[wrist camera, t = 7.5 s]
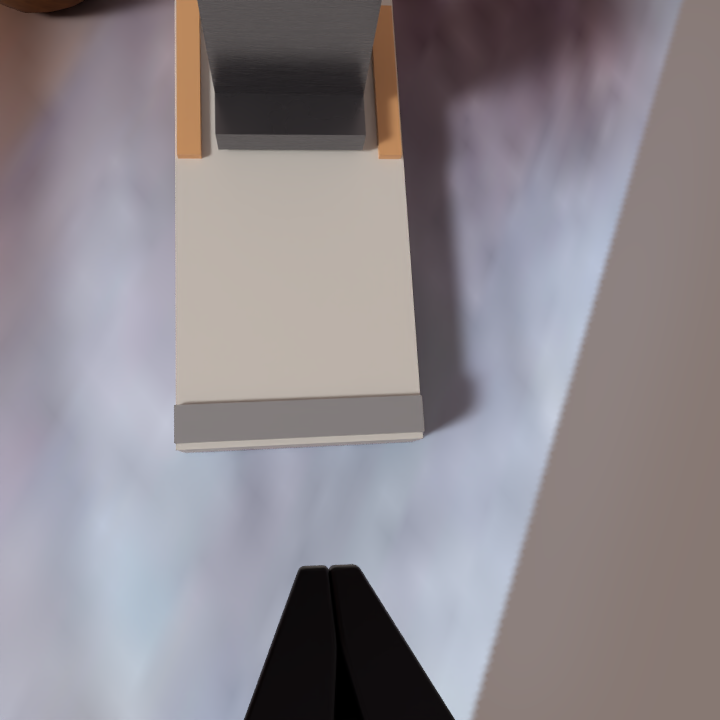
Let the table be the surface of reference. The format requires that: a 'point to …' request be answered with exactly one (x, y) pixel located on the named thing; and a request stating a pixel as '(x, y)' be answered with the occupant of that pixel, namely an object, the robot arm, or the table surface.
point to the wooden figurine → (39, 5)
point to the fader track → (291, 275)
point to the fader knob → (289, 71)
